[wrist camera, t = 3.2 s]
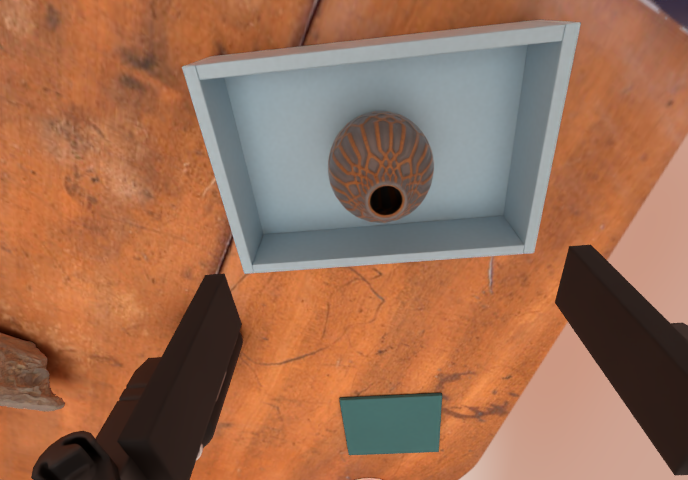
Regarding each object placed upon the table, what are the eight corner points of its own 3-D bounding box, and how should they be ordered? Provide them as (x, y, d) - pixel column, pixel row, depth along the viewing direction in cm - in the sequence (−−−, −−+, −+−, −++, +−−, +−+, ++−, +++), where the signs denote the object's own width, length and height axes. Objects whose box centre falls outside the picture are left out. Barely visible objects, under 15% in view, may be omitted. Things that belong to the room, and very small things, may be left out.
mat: (441, 392, 44) (442, 395, 43) (438, 448, 50) (438, 451, 50) (339, 397, 44) (339, 400, 44) (348, 452, 51) (348, 455, 50)
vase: (404, 83, 25) (426, 115, 18) (435, 170, 29) (465, 228, 21) (314, 126, 27) (300, 172, 20) (353, 204, 30) (354, 269, 23)
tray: (540, 19, 24) (581, 22, 19) (509, 220, 31) (534, 253, 27) (209, 56, 25) (181, 66, 21) (257, 239, 33) (244, 274, 29)
